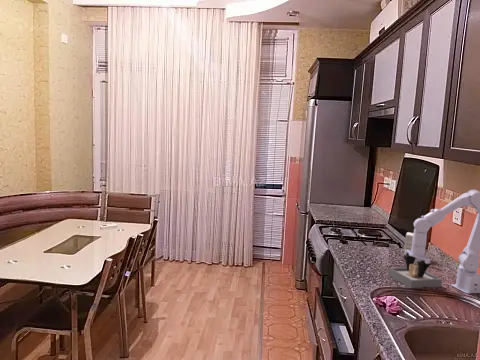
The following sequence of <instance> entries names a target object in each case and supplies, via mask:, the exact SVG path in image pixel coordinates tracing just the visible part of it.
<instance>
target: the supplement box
mask: <svg viewBox="0 0 480 360" xmlns="http://www.w3.org/2000/svg"><path fill="white" fill-rule="evenodd" d="M413 234H414V232H409V231H408V232H406V234H405V239H404V240H405V241H404V247H403V253H402V254H403V258H404V255H406V254H405V250H408V249H409V250H411V248H412V240H413Z"/></svg>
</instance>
